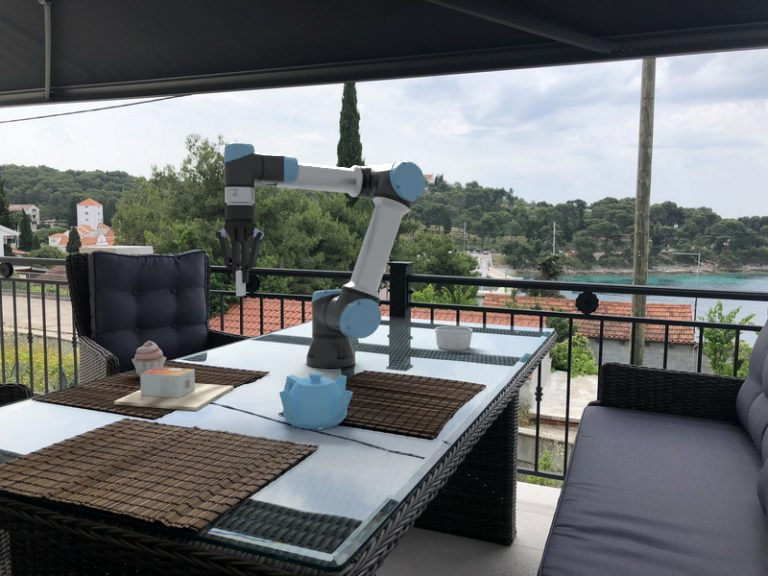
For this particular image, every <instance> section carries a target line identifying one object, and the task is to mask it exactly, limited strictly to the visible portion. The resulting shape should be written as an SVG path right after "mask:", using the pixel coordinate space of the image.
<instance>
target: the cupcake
mask: <svg viewBox="0 0 768 576" xmlns="http://www.w3.org/2000/svg"><path fill="white" fill-rule="evenodd" d="M166 360H167V357H166V356H164V354H163V351H162V350H161V348H159V346H158V345H157V343H155V342H154V341H151V340H147V341H146V342H144V344H143V345H142V346H140V347H138V348H136V352H135V354H134V358H132V359H131V362H132V363H133V365H134V369H135V372H136V375H137V376H138V377H139V378H140V374H141V373H143V372H146V371H148V370H151V369H153V368H156V367H164V365H165V363H166Z"/></svg>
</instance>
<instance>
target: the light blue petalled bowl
mask: <svg viewBox="0 0 768 576" xmlns="http://www.w3.org/2000/svg"><path fill="white" fill-rule="evenodd" d="M322 376H323V374H322V373H321V372H310V373H309V374H308V377H304V378H300V377H298V376H297V375H295V374H290V375H287V376H286V379H285V384H284V388H283V391H279V398H280V400H281V404H282V408H283V410H282V415H283V417H284V419H285V420H286V421H287V423H289V425H290V424H291V425H290V426H291V427H294V426H295V427H294V428H297V427H298V429H301V428H304V429H303V430H310V429H317V430H320V429H319V428H327V429H330V428H329V427H331V428H334V427H333V426H335V427H337V426H338V424H339V423H340V424H341V423H342V422H343V421H344V420H345V418H346V416H347V415H348V406H349V404H350V401H351V399H352V397H353V394H354V392H353V391H350V390H346V388H347V387H346V386H347V385H346V384H347V378H348V377H347V375H344V374H343V375H339V376H338V377H337V379H336V381H335V380H334V379H332V378H328V377H322ZM340 424H339V425H340ZM336 425H337V426H336Z"/></svg>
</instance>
